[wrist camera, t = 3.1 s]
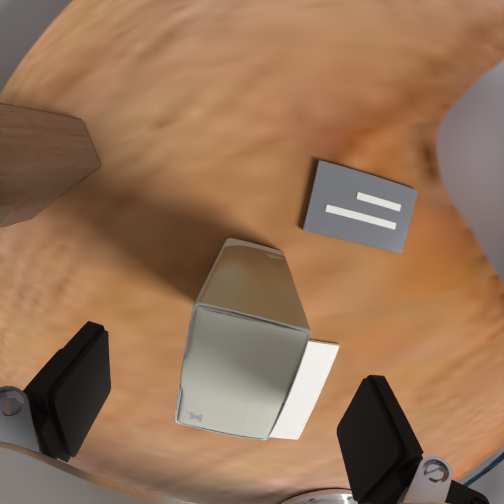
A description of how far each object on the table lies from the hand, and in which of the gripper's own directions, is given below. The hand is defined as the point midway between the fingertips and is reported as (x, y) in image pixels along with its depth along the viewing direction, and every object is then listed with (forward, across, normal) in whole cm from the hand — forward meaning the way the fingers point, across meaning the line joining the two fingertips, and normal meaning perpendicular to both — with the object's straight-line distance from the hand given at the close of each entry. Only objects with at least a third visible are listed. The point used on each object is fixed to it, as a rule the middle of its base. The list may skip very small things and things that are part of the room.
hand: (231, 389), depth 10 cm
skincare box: (+13, 0, +1) cm, 13 cm away
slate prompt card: (+13, -7, -6) cm, 16 cm away
